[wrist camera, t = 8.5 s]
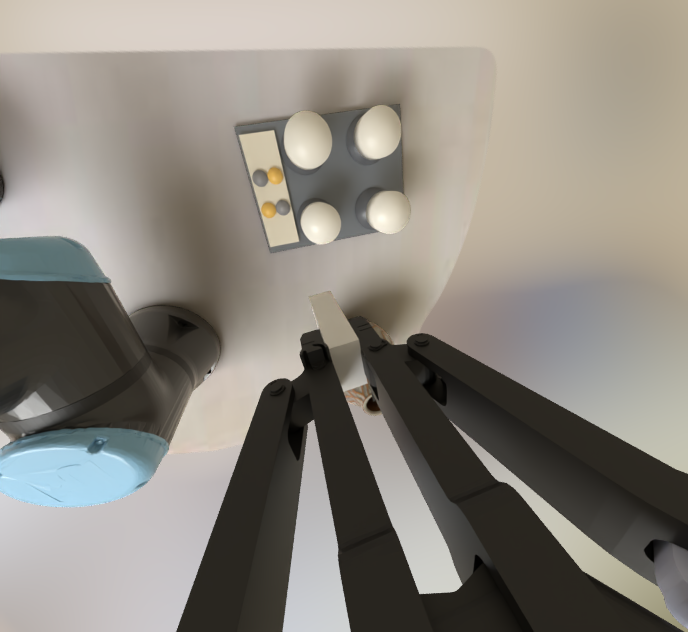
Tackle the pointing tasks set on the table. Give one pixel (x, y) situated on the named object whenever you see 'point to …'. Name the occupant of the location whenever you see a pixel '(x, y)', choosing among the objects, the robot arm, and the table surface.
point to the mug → (1, 188)
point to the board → (315, 179)
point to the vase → (367, 385)
